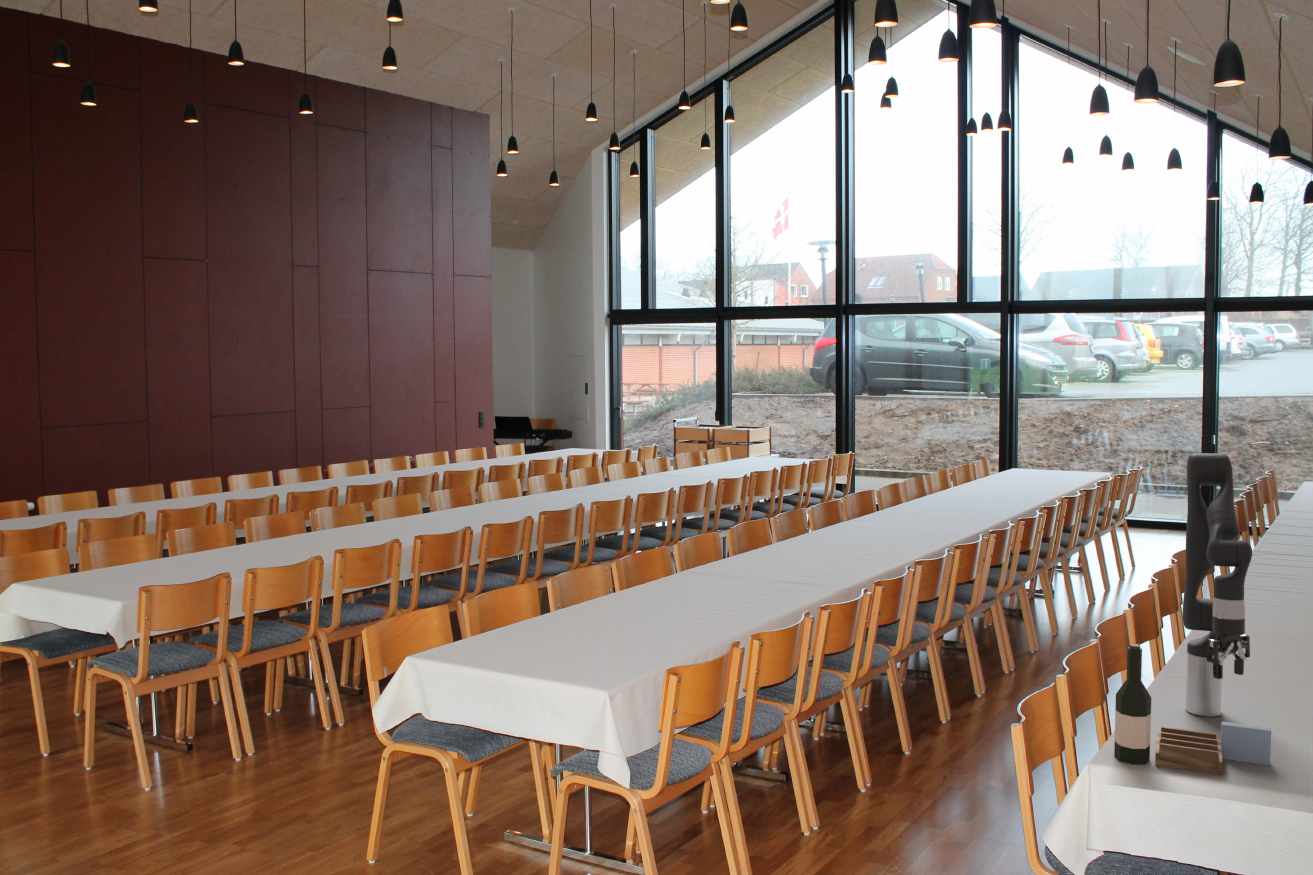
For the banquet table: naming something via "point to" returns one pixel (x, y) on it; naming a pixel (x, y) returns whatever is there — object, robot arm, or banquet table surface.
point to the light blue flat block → (1245, 743)
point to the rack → (1189, 750)
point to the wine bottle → (1133, 714)
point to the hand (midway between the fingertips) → (1228, 676)
